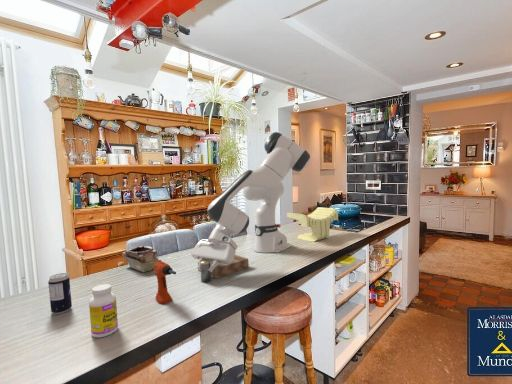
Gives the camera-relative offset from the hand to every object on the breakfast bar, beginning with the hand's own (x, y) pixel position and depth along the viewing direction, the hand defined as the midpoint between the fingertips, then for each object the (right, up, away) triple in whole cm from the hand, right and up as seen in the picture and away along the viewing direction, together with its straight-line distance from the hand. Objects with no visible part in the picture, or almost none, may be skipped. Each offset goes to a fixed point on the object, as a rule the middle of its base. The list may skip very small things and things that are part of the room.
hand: (204, 270), depth 113 cm
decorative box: (-36, -5, +20) cm, 41 cm away
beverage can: (-44, -8, -20) cm, 49 cm away
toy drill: (-9, -6, -18) cm, 21 cm away
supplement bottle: (-22, -8, -34) cm, 41 cm away
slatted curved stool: (+58, +2, +64) cm, 86 cm away
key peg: (+1, -5, +1) cm, 5 cm away
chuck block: (+6, -3, +14) cm, 16 cm away
